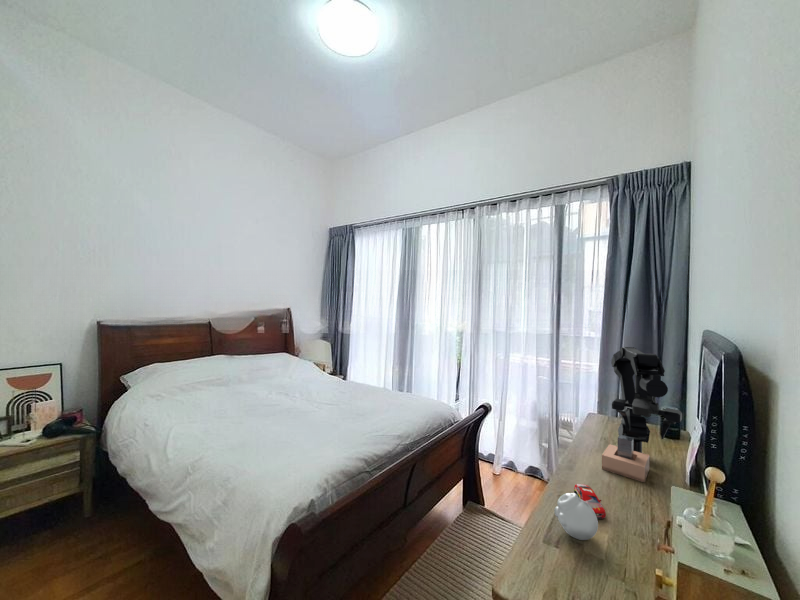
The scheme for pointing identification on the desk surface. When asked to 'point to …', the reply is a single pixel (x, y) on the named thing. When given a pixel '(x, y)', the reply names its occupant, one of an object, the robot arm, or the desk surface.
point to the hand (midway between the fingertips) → (645, 434)
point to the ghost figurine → (576, 516)
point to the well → (626, 464)
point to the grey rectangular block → (625, 447)
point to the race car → (590, 499)
